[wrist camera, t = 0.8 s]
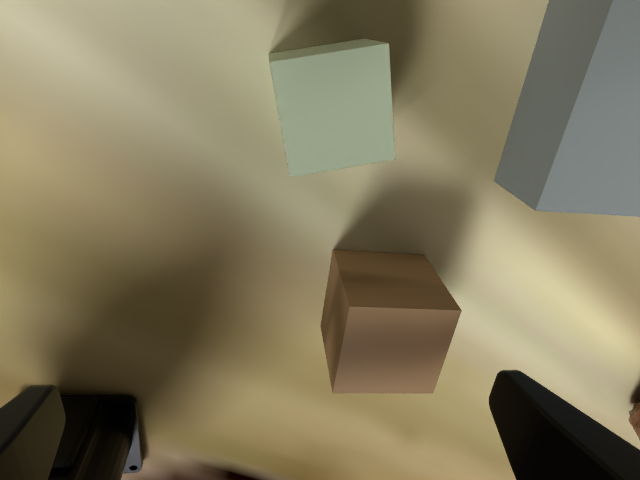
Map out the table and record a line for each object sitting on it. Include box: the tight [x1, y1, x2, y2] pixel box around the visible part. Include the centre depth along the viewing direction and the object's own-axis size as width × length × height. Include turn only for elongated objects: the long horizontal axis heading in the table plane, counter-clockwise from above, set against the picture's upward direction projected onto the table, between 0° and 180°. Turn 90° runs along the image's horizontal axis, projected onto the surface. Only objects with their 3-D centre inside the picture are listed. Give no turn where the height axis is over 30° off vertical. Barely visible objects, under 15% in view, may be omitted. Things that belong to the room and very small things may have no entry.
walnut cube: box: [321, 250, 462, 393], centre depth 21 cm, size 5×5×5 cm
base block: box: [494, 0, 640, 217], centre depth 18 cm, size 8×8×4 cm
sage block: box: [269, 39, 395, 177], centre depth 16 cm, size 4×4×4 cm
